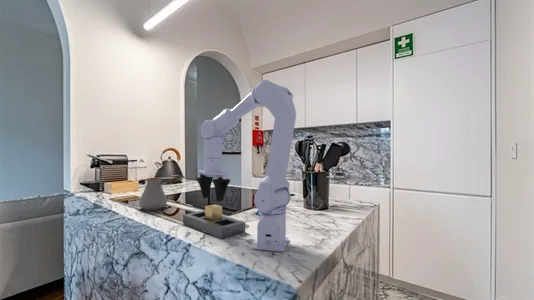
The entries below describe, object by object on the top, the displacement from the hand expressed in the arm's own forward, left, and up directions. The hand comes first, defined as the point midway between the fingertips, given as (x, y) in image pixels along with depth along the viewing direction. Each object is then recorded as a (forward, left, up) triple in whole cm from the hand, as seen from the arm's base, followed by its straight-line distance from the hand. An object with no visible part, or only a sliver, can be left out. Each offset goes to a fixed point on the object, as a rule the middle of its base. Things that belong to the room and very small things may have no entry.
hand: (212, 199), depth 83 cm
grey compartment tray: (0, 0, -9) cm, 9 cm away
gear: (+19, -13, -10) cm, 25 cm away
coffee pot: (+19, +32, -10) cm, 38 cm away
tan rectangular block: (0, 0, -9) cm, 9 cm away
